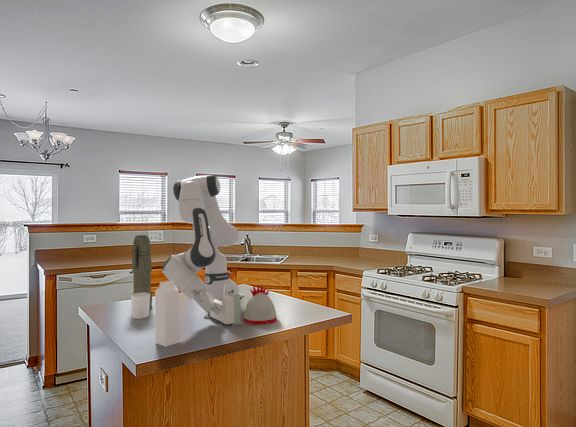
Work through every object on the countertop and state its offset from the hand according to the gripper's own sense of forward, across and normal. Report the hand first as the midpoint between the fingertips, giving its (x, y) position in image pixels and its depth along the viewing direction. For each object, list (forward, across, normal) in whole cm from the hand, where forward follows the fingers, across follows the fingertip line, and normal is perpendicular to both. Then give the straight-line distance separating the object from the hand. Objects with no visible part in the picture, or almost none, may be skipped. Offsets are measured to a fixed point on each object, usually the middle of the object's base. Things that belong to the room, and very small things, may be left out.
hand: (218, 312), depth 166 cm
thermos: (-21, +39, +30) cm, 53 cm away
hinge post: (+2, +14, +6) cm, 15 cm away
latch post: (+8, +1, -1) cm, 9 cm away
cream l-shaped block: (+4, +5, +2) cm, 7 cm away
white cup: (-20, +21, +28) cm, 40 cm away
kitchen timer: (+16, +4, -9) cm, 19 cm away
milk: (-9, -18, +17) cm, 27 cm away
